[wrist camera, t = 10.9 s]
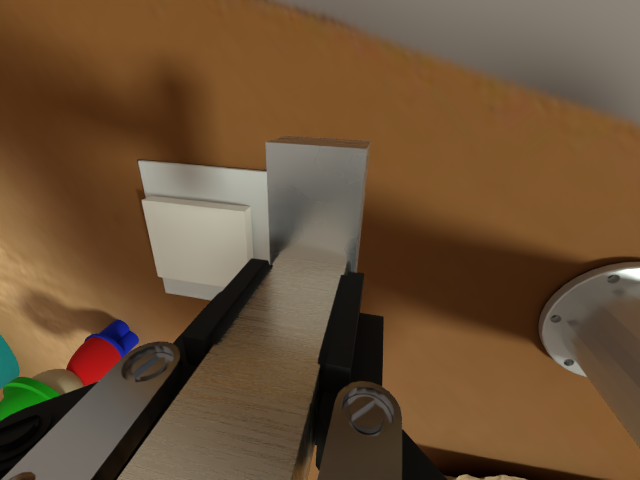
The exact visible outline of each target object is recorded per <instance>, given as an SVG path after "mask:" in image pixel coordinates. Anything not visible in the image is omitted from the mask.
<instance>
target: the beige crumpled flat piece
mask: <svg viewBox="0 0 640 480" xmlns="http://www.w3.org/2000/svg"><path fill="white" fill-rule="evenodd" d="M444 476H445V475H444ZM445 477H446V478H447V480H528V479H524V478H518V477H510V476H507V475H498V476H494V477H483V478H475V477H472V476H469V475H468V474H466V475H461V476H458V477H457V478H455V477H451V476H445Z"/></svg>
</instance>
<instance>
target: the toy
mask: <svg viewBox="0 0 640 480" xmlns="http://www.w3.org/2000/svg"><path fill="white" fill-rule="evenodd" d="M138 342H139V339H138V337H137V336H136V335H135V334H134V333H133V332H131V331H129V327H128V326H127V324H126V323H124V322H123V321H121V320H116V321H114V322H113V323H112V324H110V325H109V326H108V327H107V328H105V329H104V330H103V331H102V332H100V333H99V334H92V335H90V336H88V337H87V338H86V339H85V342H84V343H83V344H82V345H81V346H80V347H79V348H78V350H77V351H76V352H75V353H74V355H73V356H72V358H71V359H70V361H69V363H68V365H67V369H66V370H65V369H53V370H48V371H45V372H42V373H40V374H38V375H36V376H34V377H33V378H27V377H18V378H15V379H13V380H12V381H11V382H9V383H8V384H7V385H5V387H4V389H3V395H4V398H3V399H2V400H1V402H0V421H1V420H3V419H4V418H6V417H8V416H9V415H11V414H13V413H15V412H17V411H20V410H22V409H24V408H27V407H29V406H32V405H35V404H38V403H40V402H43V401H46V400H49V399H51V398H54V397H57V396H60V395H62V394H65V393H68V392H71V391H73V390H76V389H79V388H82V387H84V386H86V385H90V384H93V383H95V382H97V381H99V380H101V379H102V378H103V377H104V376H105V375H106V374H107V373H108V371H109V370H110V369H111V368H112V367H113V366H114V365H115V364H116V363H117V362H118V361H119V360H120V359H121V358H123V357H124V356H125V355H126V354H127V353H128V352H129V351H130V350H131V349H132V348H133V347H134V346H135V345H136V344H137V343H138Z"/></svg>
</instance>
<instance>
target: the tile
mask: <svg viewBox="0 0 640 480" xmlns="http://www.w3.org/2000/svg"><path fill="white" fill-rule="evenodd" d="M141 201H142V205H143V210H144V214H145V219H146V224H147V228H148V233H149V237H150V242H151V247H152V251H153V256H154V260H155V265H156V270H157V274H158V277H163V278H169V279H176V280H182V281H188V282H195V283H201V284H207V285H214V286H220V287H226V286H227V285H228V284H229V283H230V282H231V281H232V279H233V278H234V277H235V276H236V275H237V274H238V273H239V272H240V270H241V269H242V268H243V267H244V266H245V265H246V264H247V263H248V261H249V260H250V259H251V258H254V254H253V237H252V220H251V207H249V206H240V205H231V204H222V203H212V202H203V201H194V200H185V199H175V198H166V197H157V196H150V197H148V198H145V199H143V200H141Z"/></svg>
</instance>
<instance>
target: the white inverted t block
mask: <svg viewBox="0 0 640 480" xmlns="http://www.w3.org/2000/svg"><path fill="white" fill-rule="evenodd" d="M370 142H371V141H362V140H346V139H330V138H314V137H299V136H283V137H280V138H277V139H274V140H271V141H268V142H266V165H267V193H268V220H269V247H270V265H273V267H272V268H271V269H270V271H269V272H268V274H267V275H266V276H265V278H264V279H263V281H262V282H261V284H260V285H259V286H258V288H257V289H256V291H255V292H254V293H253V295H252V296H251V298H250V299H249V301H248V302H247V303H246V305H245V306H244V308H243V309H242V310H241V312H240V313H239V315H238V316H237V317H236V319H235V320H234V322H233V323H232V325H231V326H230V327H229V329H228V330H227V332H226V333H225V334H224V336H223V337H222V339H221V340H220V342H219V343H218V344H217V345H216V344H214V345H213V347H212V348H211V350H210V351H209V352H208V354H207V355H206V357H205V358H204V359H203V361H202V362H201V364H200V365H199V366H198V368H197V369H196V370H195V372H194V373H193V375H192V376H191V377H190V379H189V380H188V382H187V383H186V384H185V386H184V387H183V388H182V390H181V391H180V393H179V394H178V395H177V397H176V398H175V400H174V401H173V402H172V404H171V405H170V407H169V408H168V409H167V411H166V412H165V413H164V415H163V416H162V418H161V419H160V420H159V422H158V423H157V425H156V426H155V427H154V429H153V430H152V431H151V433H150V434H149V436H148V437H147V438H146V440H145V441H144V443H143V444H142V445H141V447H140V448H139V449H138V451H137V452H136V454H135V455H134V456H133V458H132V459H131V461H130V462H129V463H128V465H127V466H126V468H125V469H124V470H123V472H122V473H121V474H120V476H119V477H118V479H117V480H307V479H308V475H309V470H310V465H311V461H312V456H313V451H314V447H315V442H316V430H317V411H318V392H319V373H320V364H317V363H318V357H319V353H320V349H321V345H322V342H323V338H324V334H325V331H326V327H327V323H328V320H329V316H330V313H331V309H332V305H333V302H334V298H335V295H336V291H337V287H338V284H339V280H340V277H341V275H347V273H348V271H350V272H357V266H358V256H359V247H360V237H361V228H362V218H363V209H364V199H365V189H366V180H367V170H368V161H369V151H370Z"/></svg>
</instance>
